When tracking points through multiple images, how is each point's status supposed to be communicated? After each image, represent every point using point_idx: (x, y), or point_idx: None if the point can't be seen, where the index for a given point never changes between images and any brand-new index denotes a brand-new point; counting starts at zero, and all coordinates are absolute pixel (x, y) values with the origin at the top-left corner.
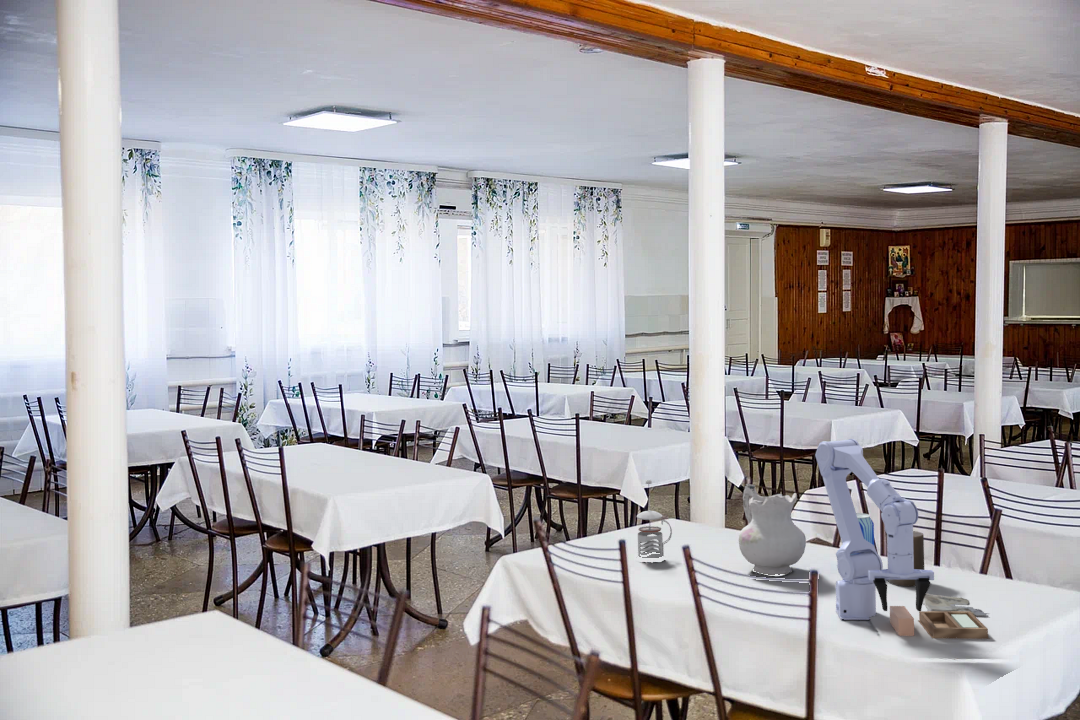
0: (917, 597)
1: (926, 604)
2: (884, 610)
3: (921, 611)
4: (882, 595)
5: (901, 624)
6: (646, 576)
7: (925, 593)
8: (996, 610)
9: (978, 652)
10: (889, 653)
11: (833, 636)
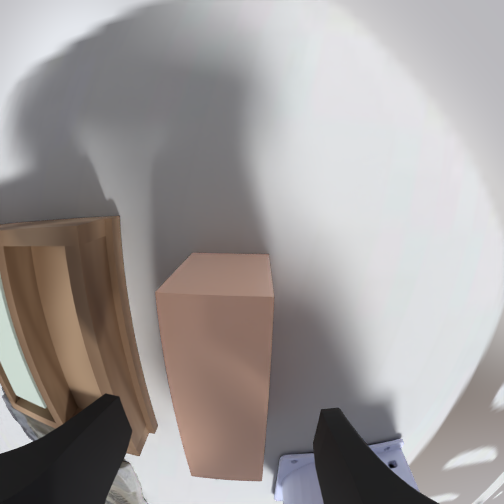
0: (95, 470)
1: (135, 496)
2: (340, 410)
3: (131, 453)
4: (396, 484)
5: (252, 280)
6: (501, 483)
7: (16, 450)
8: (21, 436)
9: (19, 109)
10: (356, 47)
11: (494, 280)
